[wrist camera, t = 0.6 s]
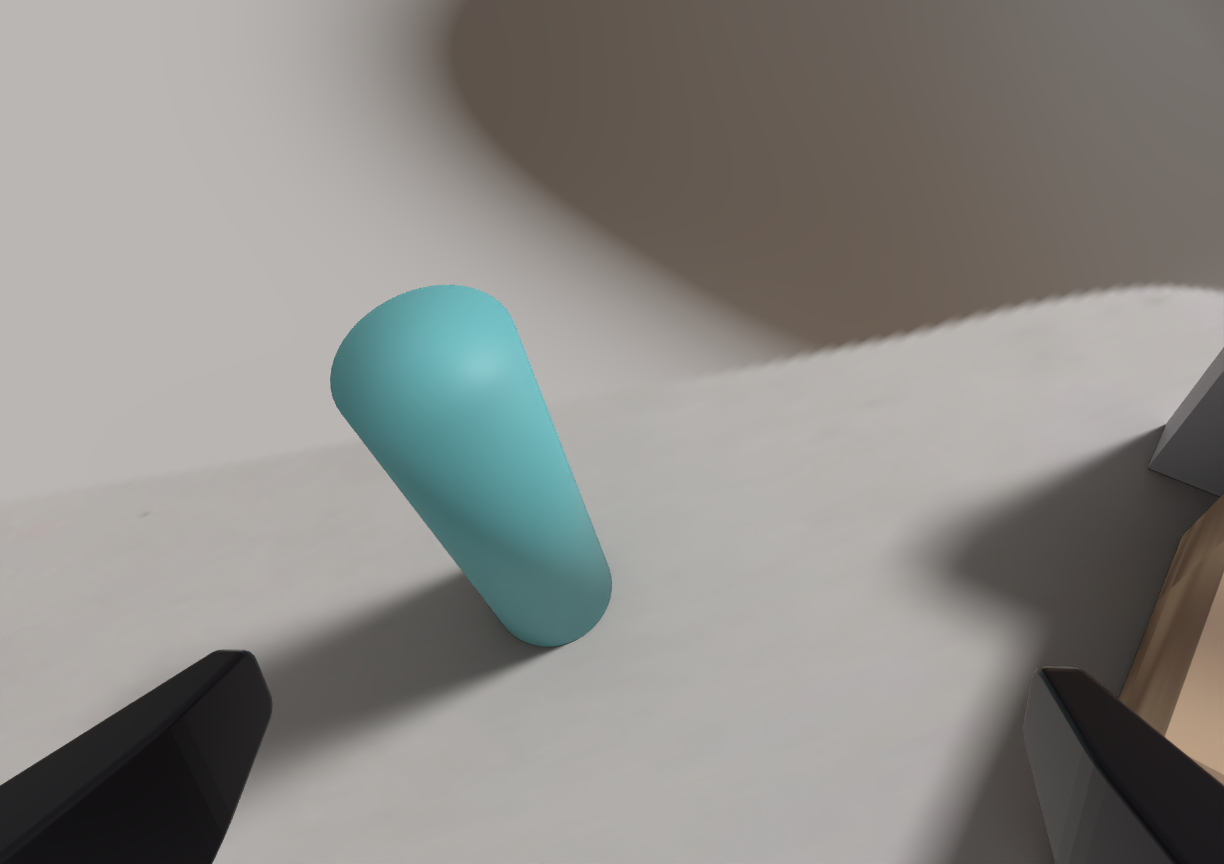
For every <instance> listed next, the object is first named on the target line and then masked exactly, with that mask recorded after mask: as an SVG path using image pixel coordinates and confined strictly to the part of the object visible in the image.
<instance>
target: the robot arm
mask: <svg viewBox="0 0 1224 864" xmlns="http://www.w3.org/2000/svg"><path fill="white" fill-rule="evenodd" d="M271 713H272V698H271V695H270V692H269V690H268V687H267V685H266V682H265V680H264V677H263V675H262V672H261V670H260V667H259V665H258V662H257V660H256V658H255V656H254V655H253V654H252V653H251V652H249V651H246V650H217V651H214V652H212V653H211V654H209V655H207V656H206V657H204V658H203V659H201V660H199V661H198V662H196V663H195V664H193V665H191V666H190V667H188V668H187V669H185V670H184V671H182V672H180V673H179V674H177V675H176V676H174V677H172V678H171V679H169V680H168V681H166V682H164V683H163V684H161V685H160V686H158V687H156V688H155V689H153V690H152V691H150V692H148V693H147V694H145V695H144V696H142V697H141V698H139V699H137V700H136V701H134V702H133V703H131V704H129V705H128V706H126V707H125V708H123V709H121V710H120V711H118V712H117V713H115V714H113V715H112V716H110V717H109V718H107V719H106V720H104V721H102V722H101V723H99V724H98V725H96V726H94V727H93V728H91V729H90V730H88V731H86V732H85V733H83V734H82V735H80V736H78V737H77V738H75V739H74V740H72V741H70V742H69V743H67V744H66V745H64V746H63V747H61V748H59V749H58V750H56V751H55V752H53V753H51V754H50V755H48V756H47V757H45V758H43V759H42V760H40V761H39V762H37V763H35V764H34V765H32V766H31V767H29V768H27V769H26V770H24V771H23V772H21V773H20V774H18V775H16V776H15V777H13V778H12V779H10V780H8V781H7V782H5V783H4V784H2V785H0V864H212V863H213V861H214V859H215V857H216V855H217V852H218V850H219V848H220V846H221V844H222V842H223V840H224V837H225V835H226V832H227V830H228V828H229V825H230V823H231V820H232V818H233V815H234V813H235V810H236V808H237V805H238V802H239V800H240V797H241V795H242V792H243V789H244V787H245V784H246V781H247V779H248V776H249V774H250V771H251V768H252V766H253V763H254V760H255V758H256V755H257V753H258V750H259V747H260V745H261V742H262V739H263V737H264V734H265V732H266V729H267V726H268V724H269V721H270V718H271ZM1023 731H1024V740H1025V745H1026V750H1027V754H1028V758H1029V762H1030V766H1031V770H1032V774H1033V778H1034V782H1035V786H1036V790H1037V794H1038V798H1039V802H1040V806H1041V809H1042V813H1043V817H1044V821H1045V825H1046V829H1047V833H1048V837H1049V841H1050V845H1051V849H1052V853H1053V857H1054V861H1055V864H1224V785H1223V784H1222V783H1220V782H1219V781H1218V780H1217V779H1216V778H1214V777H1213V776H1212V775H1211V774H1209V773H1208V772H1207V771H1206V770H1205V769H1203V768H1202V767H1201V766H1200V765H1198V764H1197V763H1196V762H1195V761H1194V760H1192V759H1191V758H1190V757H1189V756H1187V755H1186V754H1185V753H1184V752H1183V751H1181V750H1180V749H1179V748H1178V747H1176V746H1175V745H1174V744H1173V743H1172V742H1170V741H1169V740H1168V739H1167V738H1166V737H1164V736H1163V735H1162V734H1161V733H1159V732H1158V731H1157V730H1156V729H1155V728H1153V727H1152V726H1151V725H1150V724H1148V723H1147V722H1146V721H1145V720H1144V719H1142V718H1141V717H1140V716H1139V715H1137V714H1136V713H1135V712H1134V711H1133V710H1131V709H1130V708H1129V707H1128V706H1126V705H1125V704H1124V703H1123V702H1122V701H1120V700H1119V699H1118V698H1117V697H1115V696H1114V695H1113V694H1112V693H1111V692H1109V691H1108V690H1107V689H1106V688H1104V687H1103V686H1102V685H1101V684H1100V683H1098V682H1097V681H1096V680H1095V679H1093V678H1092V677H1091V676H1090V675H1089V674H1087V673H1086V672H1085V671H1083V670H1081V669H1079V668H1077V667H1067V666H1041V667H1038V668H1037V669H1036V670H1035V671H1034V673H1033V675H1032V679H1031V685H1030V690H1029V695H1028V701H1027V706H1026V711H1025V717H1024V724H1023Z"/></svg>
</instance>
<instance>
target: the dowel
mask: <svg viewBox="0 0 1224 864" xmlns="http://www.w3.org/2000/svg"><path fill="white" fill-rule="evenodd" d="M330 382H331V392H332V396H333V399H334V401H335V404H336V406H337V408H338V409H339V411H340V412H341V414H342V415H343V416H344V418H345V419H346V420H347V422H348V423H349V424H350V426H351V427H352V428H353V429H354V431H355V432H356V433H357V435H358V436H359V437H360V439H361V440H362V441H363V442H364V444H365V445H366V446H367V448H368V449H369V450H370V452H371V453H372V454H373V455H374V457H375V458H376V459H377V461H378V462H379V463H380V465H381V466H382V467H383V469H384V470H385V471H386V472H387V474H388V475H389V476H390V478H391V479H392V480H393V482H394V483H395V484H396V485H397V487H398V488H399V489H400V491H401V492H402V493H403V495H404V496H405V497H406V498H407V500H408V501H409V502H410V504H411V505H412V506H413V508H414V509H415V510H416V512H417V513H418V514H419V515H420V517H421V518H422V519H423V521H424V522H425V523H426V525H427V526H428V527H429V528H430V530H431V531H432V532H433V534H434V535H435V536H436V538H437V539H438V540H439V541H440V543H441V544H442V545H443V547H444V548H445V549H446V551H447V552H448V553H449V555H450V556H451V557H452V558H453V560H454V561H455V562H456V564H457V565H458V566H459V568H460V569H461V570H462V571H463V573H464V574H465V575H466V577H467V578H468V579H469V581H470V582H471V583H472V585H473V586H474V587H475V588H476V590H477V591H478V592H479V594H480V595H481V596H482V598H483V599H484V600H485V601H486V603H487V604H488V605H489V607H490V608H491V609H492V611H493V612H494V613H495V614H496V616H497V617H498V618H499V620H500V621H501V622H502V624H503V625H504V626H505V628H506V629H507V630H508V631H509V632H510V633H511V634H512V635H514V636H515V637H516V638H518V639H520V640H521V641H523V642H526V643H528V644H531V645H535V646H542V647H553V646H560V645H564V644H567V643H570V642H572V641H575V640H577V639H578V638H580V637H582V636H583V635H585V634H586V633H587V632H589V631H590V630H591V629H592V628H593V627H594V626H595V625H596V624H597V623H598V621H599V620H600V619H601V617H602V616H603V614H604V612H605V610H606V608H607V606H608V603H609V600H610V596H611V590H612V580H611V573H610V569H609V566H608V564H607V561H606V559H605V556H604V553H603V551H602V548H601V546H600V543H599V541H598V538H597V535H596V533H595V530H594V528H593V525H592V522H591V520H590V517H589V515H588V512H587V510H586V507H585V504H584V502H583V499H582V497H581V494H580V492H579V489H578V486H577V484H576V481H575V479H574V476H573V473H572V471H571V468H570V466H569V463H568V461H567V458H566V455H565V453H564V450H563V448H562V445H561V442H560V440H559V437H558V435H557V432H556V430H555V427H554V424H553V422H552V419H551V417H550V414H549V412H548V409H547V406H546V404H545V401H544V399H543V396H542V393H541V391H540V388H539V386H538V383H537V381H536V378H535V376H534V373H533V371H532V368H531V365H530V363H529V360H528V357H527V355H526V352H525V350H524V347H523V345H522V342H521V339H520V337H519V335H518V332H517V329H516V326H515V324H514V322H513V320H512V317H511V315H510V314H509V312H508V311H507V309H506V308H505V307H504V306H503V305H502V304H501V303H500V302H499V301H497V300H496V299H495V298H494V297H492V296H490V295H488V294H487V293H484V292H482V291H480V290H477V289H474V288H470V287H465V286H458V285H437V286H429V287H424V288H419V289H415V290H412V291H409V292H406V293H404V294H401V295H398V296H396V297H394V298H392V299H390V300H388V301H386V302H385V303H383V304H381V305H380V306H378V307H376V308H375V309H374V310H372V311H371V312H370V313H368V314H367V315H366V316H365V317H364V318H362V319H361V320H360V321H359V322H358V323H357V324H356V325H355V326H354V328H352V330H351V331H350V332H349V333H348V335H347V336H346V338H345V339H344V340H343V342H342V344H341V345H340V347H339V349H338V351H337V353H336V356H335V358H334V361H333V365H332V369H331V377H330Z"/></svg>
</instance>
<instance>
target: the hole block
mask: <svg viewBox="0 0 1224 864" xmlns="http://www.w3.org/2000/svg"><path fill="white" fill-rule="evenodd" d="M1119 700H1120V701H1122V702H1123V703H1124V704H1125V705H1126V706H1128V707H1129V708H1130V709H1131V710H1133V711H1134V712H1135V713H1136V714H1137V715H1139V716H1140V717H1141V718H1142V719H1144V720H1145V721H1146V722H1147V723H1148V724H1150V725H1151V726H1152V727H1153V728H1155V729H1156V730H1157V731H1158V732H1159V733H1161V734H1162V735H1163V736H1164V737H1166V738H1167V739H1168V740H1169V741H1170V742H1172V743H1173V744H1174V745H1175V746H1176V747H1178V748H1179V749H1180V750H1181V751H1183V752H1184V753H1185V754H1186V755H1187V756H1189V757H1190V758H1191V759H1192V760H1194V761H1195V762H1196V763H1197V764H1198V765H1200V766H1201V767H1202V768H1203V769H1205V770H1206V771H1207V772H1208V773H1209V774H1211V775H1212V776H1213V777H1214V778H1216V779H1217V780H1218V781H1219V782H1220V783H1222V784H1223V785H1224V494H1223V495H1222V496H1221V497H1220V498H1219V499H1218V500H1217V501H1216V502H1215V503H1214V504H1213V505H1212V506H1211V507H1210V508H1209V509H1208V510H1207V511H1206V512H1205V513H1204V514H1203V515H1202V516H1201V517H1200V518H1199V519H1198V520H1197V521H1196V522H1195V523H1194V524H1193V525H1192V526H1191V527H1190V528H1189V529H1188V530H1187V531H1186V532H1185V533H1184V534H1183V536H1182V538H1181V541H1180V543H1179V546H1178V548H1177V551H1176V553H1175V556H1174V559H1173V561H1172V564H1171V566H1170V569H1169V571H1168V574H1167V576H1166V579H1165V582H1164V584H1163V587H1162V589H1161V592H1160V594H1159V597H1158V599H1157V602H1156V605H1155V607H1154V610H1153V612H1152V615H1151V617H1150V620H1149V622H1148V625H1147V628H1146V630H1145V633H1144V635H1143V638H1142V640H1141V643H1140V645H1139V648H1138V651H1137V653H1136V656H1135V658H1134V661H1133V663H1132V666H1131V668H1130V671H1129V674H1128V676H1127V679H1126V681H1125V684H1124V686H1123V689H1122V691H1121V694H1120V696H1119ZM1054 864H1055V863H1054Z"/></svg>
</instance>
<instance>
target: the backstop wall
mask: <svg viewBox="0 0 1224 864" xmlns="http://www.w3.org/2000/svg"><path fill="white" fill-rule="evenodd" d="M1148 468H1149V469H1151V470H1154V471H1157V472H1159V473H1162V474H1164V475H1167V476H1169V477H1172V478H1174V479H1177V480H1179V481H1182V482H1184V483H1187V484H1189V485H1192V486H1194V487H1197V488H1199V489H1202V490H1204V491H1207V492H1209V493H1212V494H1214V495H1217V496H1219V497H1221V496H1222V495H1223V494H1224V348H1223V349H1222V350H1221V352H1220V353H1219V354H1218V356H1217V357H1216V358H1215V360H1214V361H1213V362H1212V364H1211V365H1210V366H1209V368H1208V369H1207V370H1206V372H1205V373H1204V374H1203V376H1202V377H1201V378H1200V380H1199V381H1198V382H1197V384H1196V385H1195V386H1194V388H1193V389H1192V390H1191V392H1190V393H1189V394H1188V396H1187V397H1186V398H1185V400H1184V401H1183V402H1182V404H1181V405H1180V406H1179V408H1178V409H1177V410H1176V412H1175V413H1174V414H1173V416H1172V417H1171V418H1170V420H1169V421H1168V422H1167V424H1166V426H1165V429H1164V431H1163V433H1162V436H1161V438H1160V440H1159V443H1158V445H1157V447H1156V450H1155V452H1154V454H1153V456H1152V459H1151V461H1150V463H1149V466H1148Z"/></svg>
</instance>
